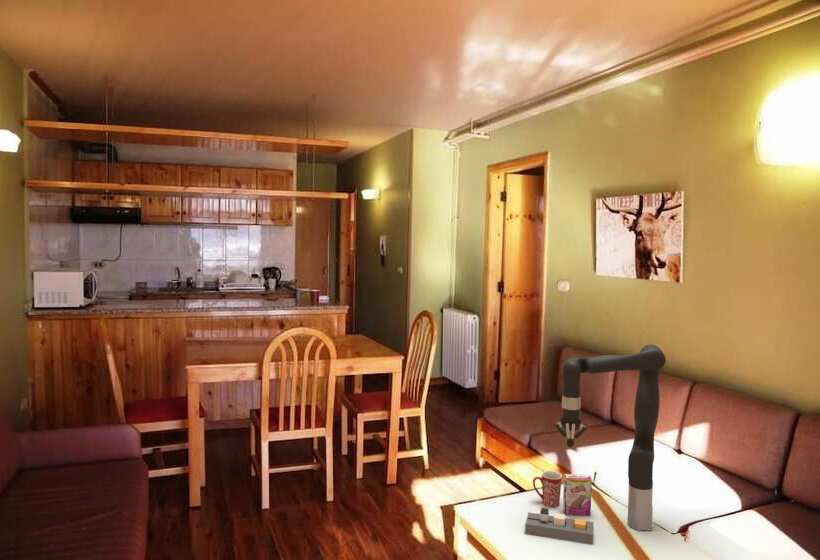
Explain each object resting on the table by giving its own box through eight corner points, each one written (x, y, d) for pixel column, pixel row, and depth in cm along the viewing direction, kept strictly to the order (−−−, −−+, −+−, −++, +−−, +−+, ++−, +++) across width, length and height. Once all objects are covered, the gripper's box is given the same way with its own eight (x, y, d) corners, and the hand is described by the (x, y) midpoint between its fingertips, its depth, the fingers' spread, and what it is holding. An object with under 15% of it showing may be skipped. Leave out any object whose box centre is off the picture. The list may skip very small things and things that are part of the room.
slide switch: (548, 522, 235) (548, 508, 234) (547, 527, 231) (547, 513, 231) (541, 521, 236) (541, 507, 235) (540, 526, 232) (540, 512, 231)
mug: (561, 500, 260) (561, 471, 258) (562, 509, 251) (562, 479, 250) (532, 497, 262) (533, 468, 261) (532, 506, 254) (532, 477, 252)
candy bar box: (564, 515, 246) (565, 478, 244) (562, 509, 251) (563, 473, 249) (591, 516, 245) (592, 479, 243) (588, 510, 250) (589, 474, 248)
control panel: (593, 531, 232) (593, 522, 232) (592, 544, 223) (593, 534, 222) (528, 521, 241) (528, 512, 240) (525, 533, 231) (525, 524, 231)
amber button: (585, 527, 230) (585, 520, 230) (585, 532, 226) (585, 525, 226) (574, 525, 232) (575, 518, 231) (574, 530, 228) (574, 523, 227)
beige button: (565, 521, 233) (565, 514, 232) (564, 526, 229) (564, 519, 228) (554, 520, 234) (554, 512, 234) (553, 525, 230) (553, 517, 230)
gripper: (587, 405, 241) (587, 445, 243) (555, 402, 245) (554, 441, 247) (587, 410, 234) (586, 451, 236) (554, 407, 238) (553, 448, 240)
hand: (570, 446), depth 241 cm, fingers closed
